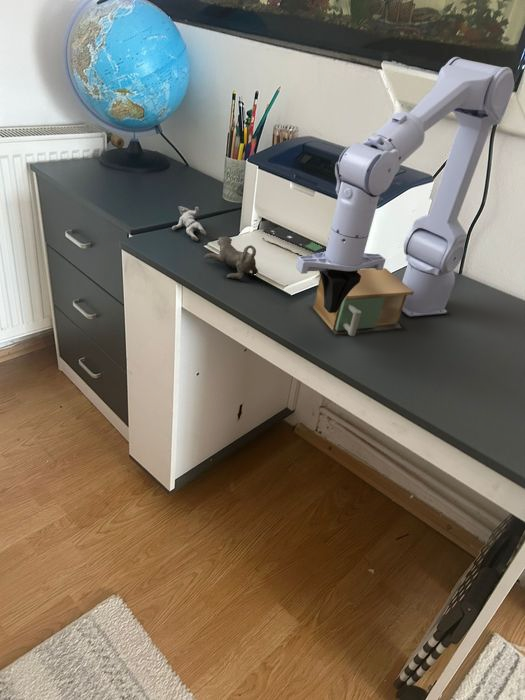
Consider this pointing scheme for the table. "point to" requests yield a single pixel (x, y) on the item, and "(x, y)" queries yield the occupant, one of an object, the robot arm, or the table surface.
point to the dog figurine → (235, 258)
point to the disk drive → (294, 239)
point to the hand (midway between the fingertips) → (330, 309)
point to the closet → (369, 286)
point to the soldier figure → (189, 222)
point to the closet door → (359, 314)
